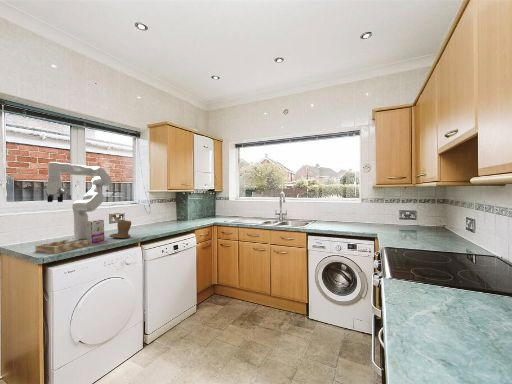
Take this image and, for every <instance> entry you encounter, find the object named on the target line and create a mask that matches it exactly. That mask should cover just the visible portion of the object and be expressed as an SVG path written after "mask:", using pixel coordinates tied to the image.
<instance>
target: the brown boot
mask: <svg viewBox="0 0 512 384" xmlns="http://www.w3.org/2000/svg"><path fill="white" fill-rule="evenodd" d="M116 226H117V233H112V234H109V235H108V236H109V237H110V238H114V239H126V238H130V237H131V236H132V235H130V234H129V232H130V229H131V227H132V221H131V220H127V219H126V220H125V219H119V220H118V221H117V225H116Z"/></svg>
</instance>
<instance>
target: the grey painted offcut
mask: <svg viewBox="0 0 512 384" xmlns="http://www.w3.org/2000/svg"><path fill="white" fill-rule="evenodd" d="M79 241H80V239H70V240H69V241H65V244H70V243H74V242H79Z"/></svg>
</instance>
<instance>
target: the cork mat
mask: <svg viewBox="0 0 512 384" xmlns="http://www.w3.org/2000/svg"><path fill="white" fill-rule="evenodd" d="M106 242H108V240H105V239H104V241H101V242H97V243H93V244H88V246H94V245H99V244H101V243H102V244H103V243H106Z"/></svg>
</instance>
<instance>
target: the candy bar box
mask: <svg viewBox="0 0 512 384" xmlns="http://www.w3.org/2000/svg"><path fill="white" fill-rule="evenodd" d="M86 225H87V239H86V240H88V244H93V243H97V242H101V241H104V240H105V219H96V220H94V219H93V220H88V221H87V222H86Z"/></svg>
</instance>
